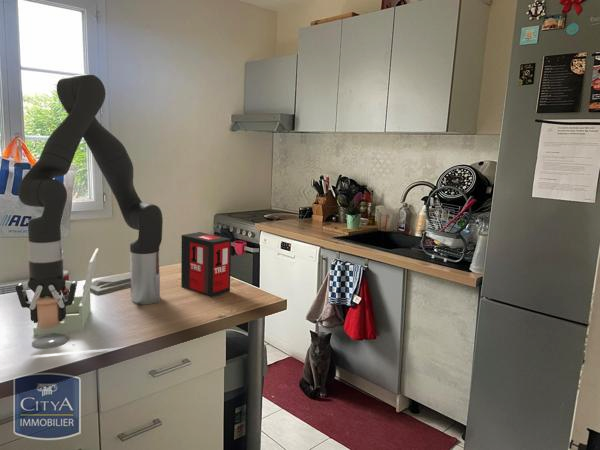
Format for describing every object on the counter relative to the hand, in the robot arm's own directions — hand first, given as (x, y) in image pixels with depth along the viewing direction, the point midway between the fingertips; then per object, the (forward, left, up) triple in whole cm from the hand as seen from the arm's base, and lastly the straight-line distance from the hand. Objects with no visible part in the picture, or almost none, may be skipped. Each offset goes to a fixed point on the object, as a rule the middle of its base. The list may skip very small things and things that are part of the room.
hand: (49, 320), depth 113 cm
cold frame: (-1, -13, -6) cm, 14 cm away
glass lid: (-8, -13, +8) cm, 17 cm away
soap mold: (-13, -47, -7) cm, 49 cm away
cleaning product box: (-44, -37, -7) cm, 58 cm away
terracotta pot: (0, 0, -1) cm, 1 cm away
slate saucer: (0, 0, -6) cm, 6 cm away
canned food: (+4, -29, -7) cm, 30 cm away
